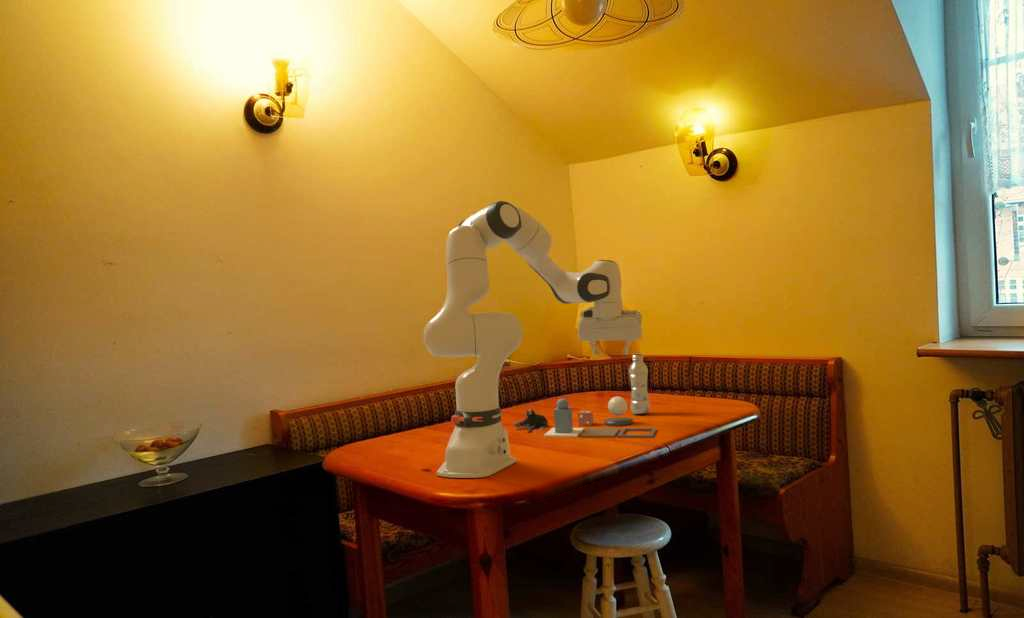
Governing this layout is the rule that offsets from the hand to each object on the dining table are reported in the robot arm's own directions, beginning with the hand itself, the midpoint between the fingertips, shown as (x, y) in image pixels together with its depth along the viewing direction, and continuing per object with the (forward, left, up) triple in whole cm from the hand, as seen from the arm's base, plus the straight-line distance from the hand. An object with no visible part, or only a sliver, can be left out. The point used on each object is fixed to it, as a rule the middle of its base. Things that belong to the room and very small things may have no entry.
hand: (611, 354), depth 227 cm
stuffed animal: (-8, +26, -23) cm, 35 cm away
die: (-3, +9, -22) cm, 24 cm away
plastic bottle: (+14, -6, -22) cm, 27 cm away
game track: (-16, +2, -22) cm, 27 cm away
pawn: (-16, +13, -21) cm, 29 cm away
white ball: (-1, -1, -19) cm, 19 cm away
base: (-1, -1, -22) cm, 22 cm away
